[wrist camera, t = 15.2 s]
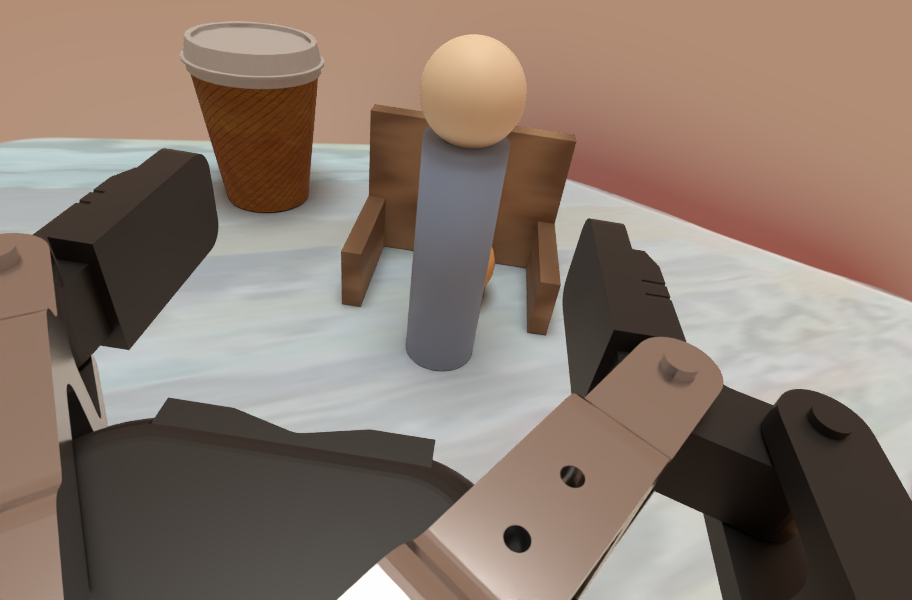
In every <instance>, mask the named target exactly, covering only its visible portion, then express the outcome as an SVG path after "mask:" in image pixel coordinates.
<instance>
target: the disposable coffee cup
mask: <svg viewBox="0 0 912 600" xmlns="http://www.w3.org/2000/svg"><path fill="white" fill-rule="evenodd" d="M180 58H181V61H182V62H183V63H184V64H185V65H186V68H187V71H188V72H189V73H190V74H191V77H192V80H193V83H194V87H195V90H196V94H197V97H198V100H199V103H200V106H201V110H202V113H203V116H204V120H205V123H206V126H207V129H208V133H209V136H210V140H211V143H212V146H213V150H214V153H215V156H216V159H217V163H218V166H219V169H220V172H221V176H222V179H223V182H224V186H225V189H226V192H227V196H228V198H229V199H230V201H231V202H232V203H233V204H234V205H236V206H238V207H240V208H243V209H246V210H250V211H256V212H278V211H284V210H288V209H291V208H294V207H296V206H299V205H300V204H302V203H303V202H304V201H305V200H306V199H307V197H308V191H309V177H310V166H311V154H312V143H313V131H314V119H315V107H316V96H317V81H318V77H319V76H320V74H321V69H322V68H323V67H324V59H323V57H322V55H320V53H319V49H318V46H317V42H316V39H315V38H314V37H313V36H312V35H310V34H308V33H306V32H304V31H301V30H298V29H294V28H290V27H285V26H281V25H275V24H267V23H258V22H216V23H208V24H202V25H198V26H194V27H192V28H190V29H188V30H187V31H186V32H185V35H184V48H183V49H182V51H181V52H180Z"/></svg>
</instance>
